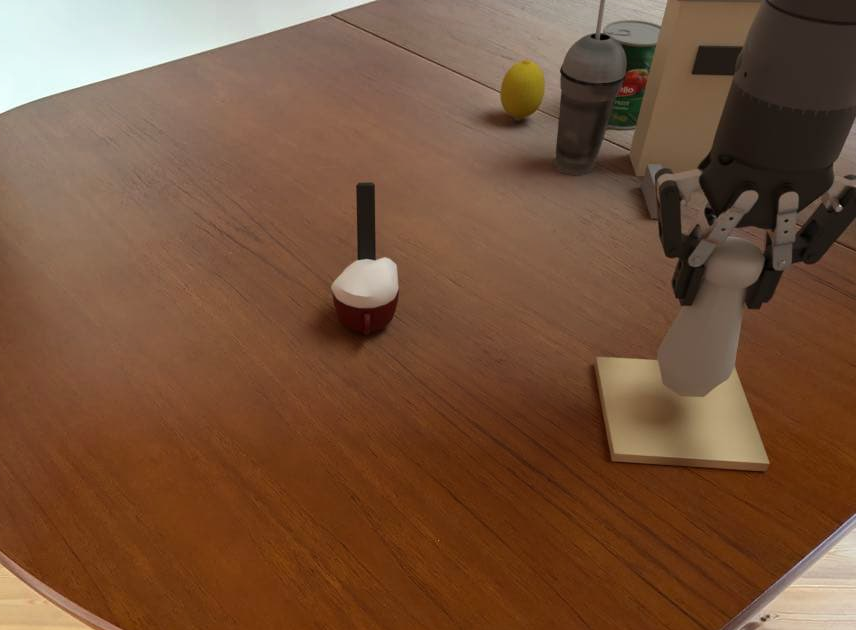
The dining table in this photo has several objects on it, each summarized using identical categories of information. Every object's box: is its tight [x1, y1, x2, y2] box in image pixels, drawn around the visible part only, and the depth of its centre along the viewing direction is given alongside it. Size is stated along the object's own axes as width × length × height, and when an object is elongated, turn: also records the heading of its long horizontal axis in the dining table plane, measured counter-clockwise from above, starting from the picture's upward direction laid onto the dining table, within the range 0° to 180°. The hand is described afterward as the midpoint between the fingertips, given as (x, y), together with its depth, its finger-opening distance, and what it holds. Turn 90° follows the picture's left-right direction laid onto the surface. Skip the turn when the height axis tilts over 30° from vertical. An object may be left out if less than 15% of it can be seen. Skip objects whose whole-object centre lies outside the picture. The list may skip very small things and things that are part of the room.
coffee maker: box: [628, 0, 762, 220], centre depth 92 cm, size 13×15×23 cm
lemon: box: [499, 58, 546, 121], centre depth 111 cm, size 6×6×8 cm
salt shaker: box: [656, 235, 765, 397], centre depth 66 cm, size 6×6×13 cm
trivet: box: [593, 356, 771, 472], centre depth 73 cm, size 12×12×1 cm
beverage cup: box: [554, 0, 626, 176], centre depth 97 cm, size 7×7×20 cm
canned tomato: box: [602, 19, 661, 131], centre depth 110 cm, size 8×8×11 cm
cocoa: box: [330, 181, 400, 335], centre depth 79 cm, size 10×6×12 cm, turn 156°
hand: (717, 300), depth 65 cm, fingers closed on salt shaker, 4 cm apart
